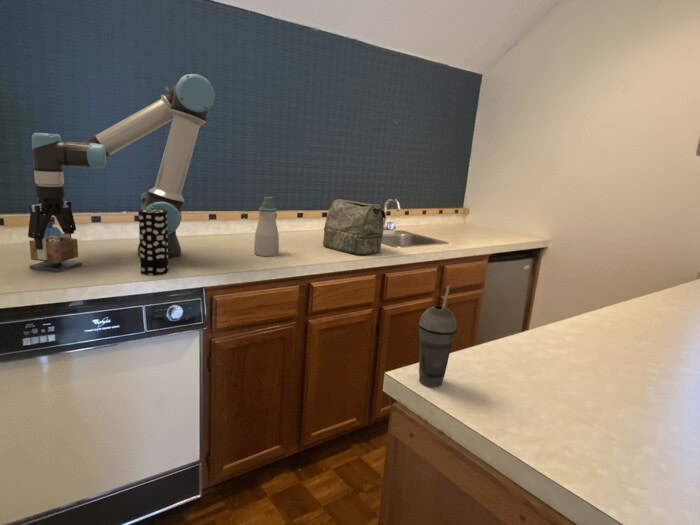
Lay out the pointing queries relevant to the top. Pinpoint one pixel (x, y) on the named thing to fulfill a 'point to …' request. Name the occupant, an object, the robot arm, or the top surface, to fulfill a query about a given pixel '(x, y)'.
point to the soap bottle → (267, 230)
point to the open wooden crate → (56, 249)
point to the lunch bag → (354, 227)
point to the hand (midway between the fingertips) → (55, 256)
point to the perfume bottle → (51, 230)
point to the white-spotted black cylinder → (153, 241)
